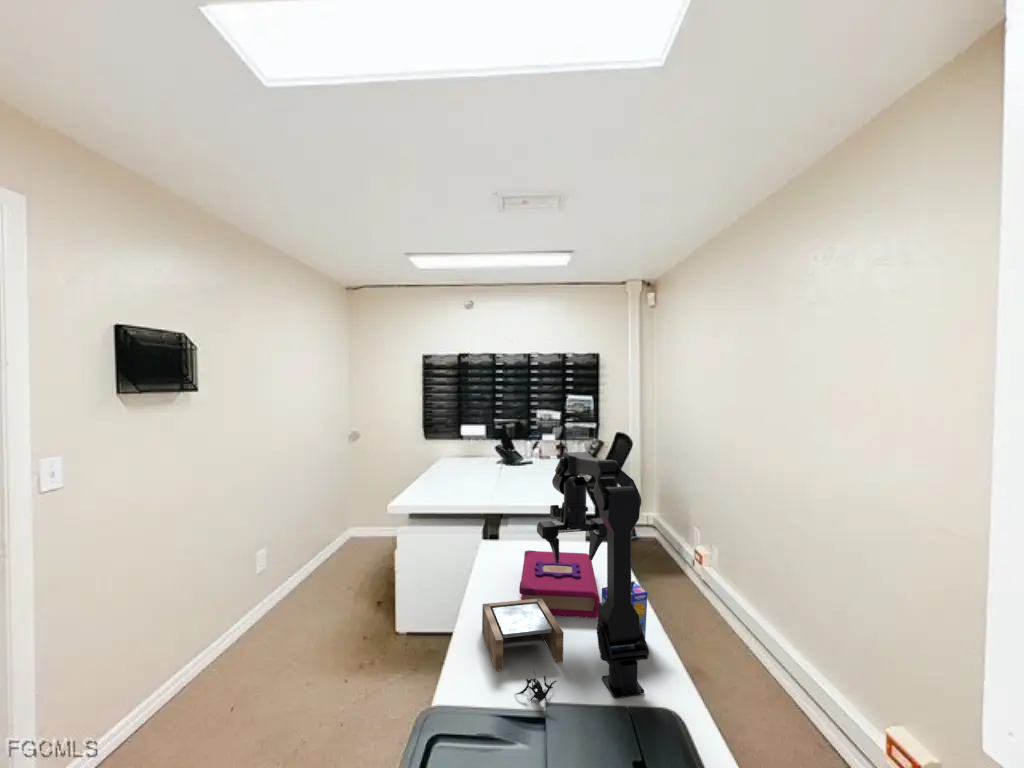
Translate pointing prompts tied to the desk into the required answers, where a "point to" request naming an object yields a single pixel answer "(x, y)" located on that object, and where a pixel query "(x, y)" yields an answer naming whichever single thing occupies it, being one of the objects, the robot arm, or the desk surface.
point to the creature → (538, 689)
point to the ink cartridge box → (635, 603)
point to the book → (561, 583)
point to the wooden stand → (495, 637)
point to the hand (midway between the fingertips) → (573, 561)
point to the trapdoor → (521, 620)
